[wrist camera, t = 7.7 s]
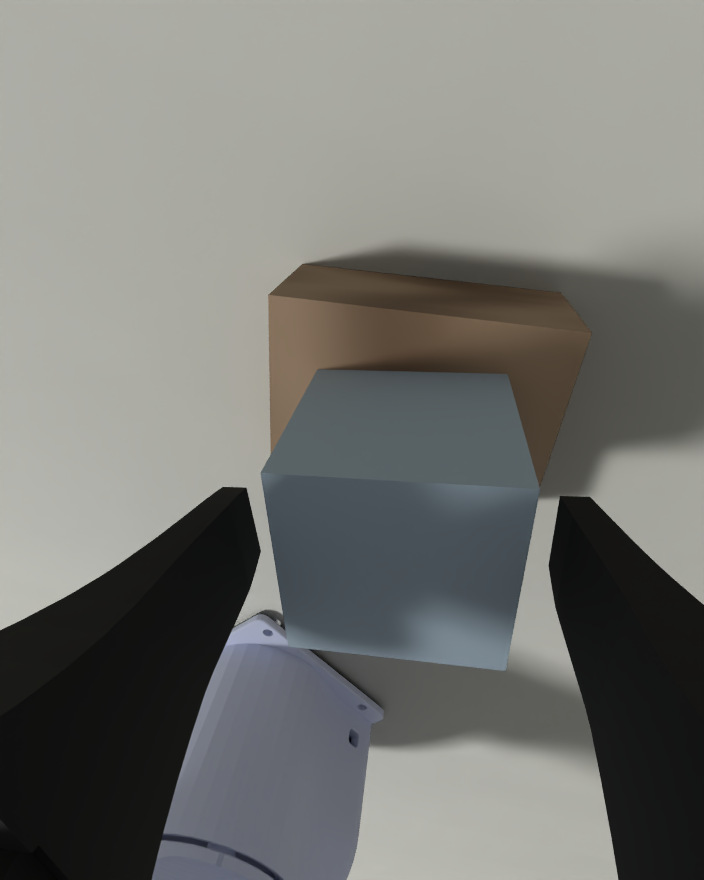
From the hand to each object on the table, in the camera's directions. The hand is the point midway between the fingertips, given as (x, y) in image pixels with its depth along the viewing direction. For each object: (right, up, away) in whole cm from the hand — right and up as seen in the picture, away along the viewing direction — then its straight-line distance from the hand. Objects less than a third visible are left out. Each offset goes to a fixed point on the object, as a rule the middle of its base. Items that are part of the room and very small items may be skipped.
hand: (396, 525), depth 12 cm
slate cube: (+1, +2, +3) cm, 3 cm away
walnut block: (+1, +4, +6) cm, 7 cm away
